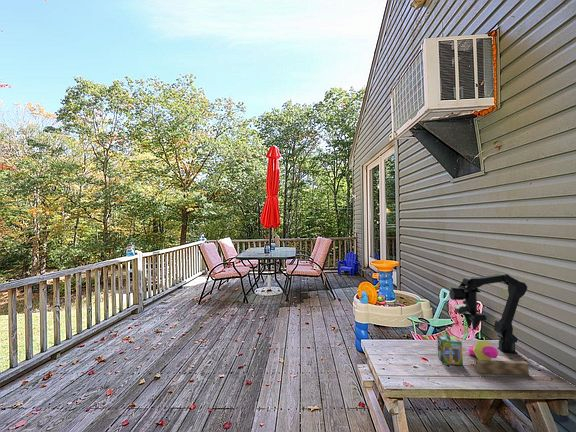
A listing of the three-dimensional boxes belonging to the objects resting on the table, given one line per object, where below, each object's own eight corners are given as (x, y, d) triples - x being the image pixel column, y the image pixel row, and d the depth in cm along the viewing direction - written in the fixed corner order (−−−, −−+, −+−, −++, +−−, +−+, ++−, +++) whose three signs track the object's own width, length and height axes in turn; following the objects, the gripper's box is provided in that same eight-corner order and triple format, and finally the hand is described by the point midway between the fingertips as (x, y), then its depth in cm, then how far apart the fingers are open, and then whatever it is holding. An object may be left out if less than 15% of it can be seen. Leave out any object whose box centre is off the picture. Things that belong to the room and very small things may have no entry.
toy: (484, 353, 157) (473, 335, 160) (510, 358, 140) (497, 337, 143) (470, 362, 155) (459, 344, 158) (494, 368, 138) (481, 347, 141)
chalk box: (463, 365, 142) (462, 335, 143) (443, 364, 144) (442, 334, 145) (456, 357, 151) (455, 329, 152) (437, 356, 153) (436, 327, 154)
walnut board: (524, 372, 136) (524, 361, 136) (528, 374, 133) (528, 363, 133) (475, 370, 137) (475, 359, 138) (479, 373, 135) (478, 362, 135)
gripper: (447, 295, 171) (448, 322, 171) (464, 304, 153) (465, 334, 152) (467, 296, 170) (468, 322, 170) (486, 304, 152) (487, 334, 151)
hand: (471, 328), depth 161 cm, fingers open, 5 cm apart
